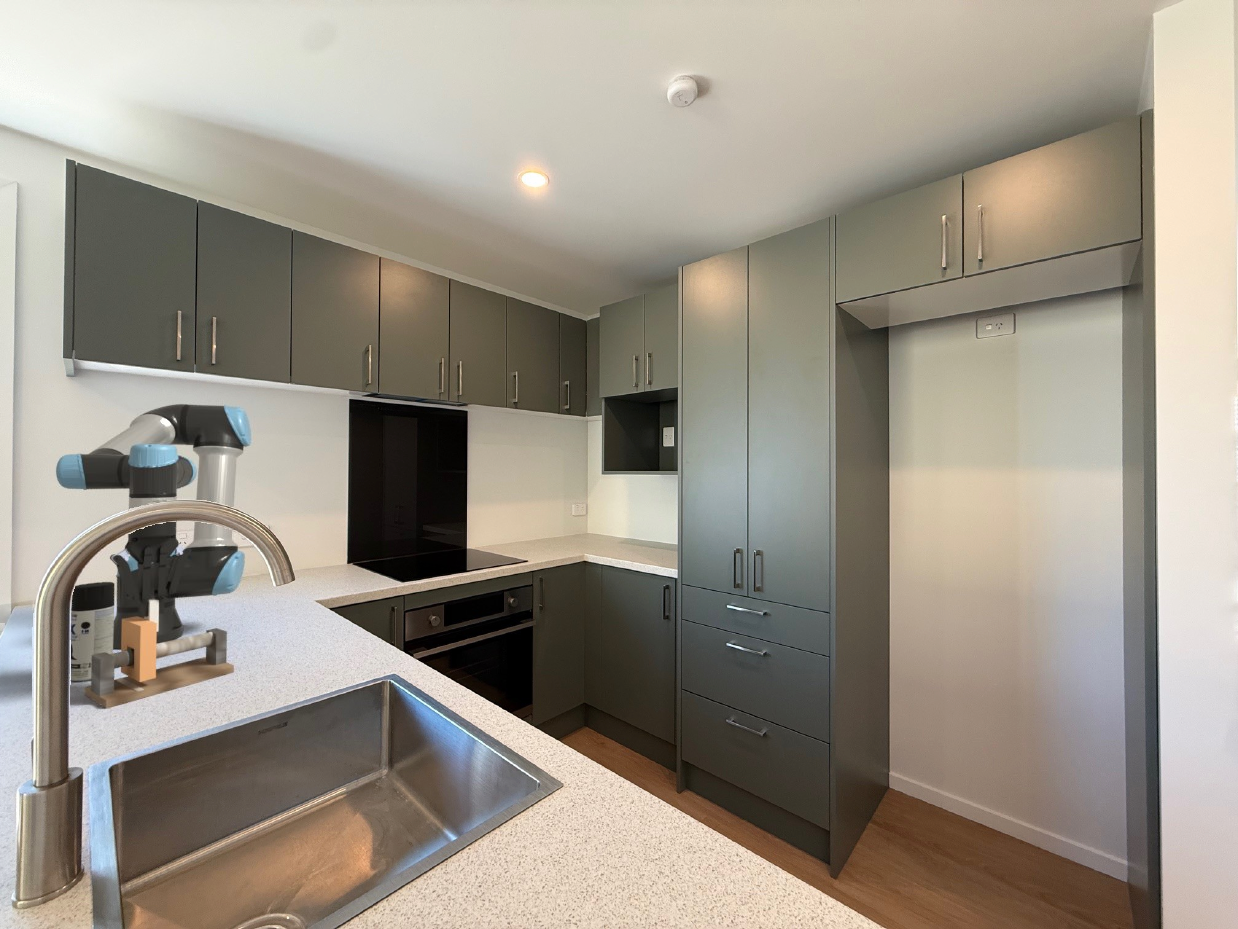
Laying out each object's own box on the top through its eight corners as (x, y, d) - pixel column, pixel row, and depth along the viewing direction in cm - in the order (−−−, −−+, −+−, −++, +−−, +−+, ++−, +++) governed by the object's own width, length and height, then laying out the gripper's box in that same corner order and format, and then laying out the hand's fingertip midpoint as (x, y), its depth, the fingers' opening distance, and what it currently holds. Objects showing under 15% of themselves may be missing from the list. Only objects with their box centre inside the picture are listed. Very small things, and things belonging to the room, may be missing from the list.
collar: (136, 668, 111) (137, 616, 111) (155, 677, 106) (156, 623, 106) (120, 672, 109) (121, 619, 109) (139, 682, 103) (140, 626, 104)
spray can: (69, 676, 114) (70, 584, 114) (112, 668, 119) (113, 580, 119) (69, 685, 109) (71, 589, 110) (114, 676, 114) (116, 584, 115)
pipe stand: (209, 662, 123) (209, 625, 123) (233, 672, 117) (234, 633, 117) (84, 694, 105) (85, 651, 105) (106, 708, 98) (107, 662, 99)
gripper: (118, 521, 102) (116, 642, 101) (198, 516, 113) (196, 626, 113) (104, 519, 106) (102, 636, 105) (183, 515, 117) (181, 621, 116)
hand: (151, 631), depth 109 cm, fingers closed
